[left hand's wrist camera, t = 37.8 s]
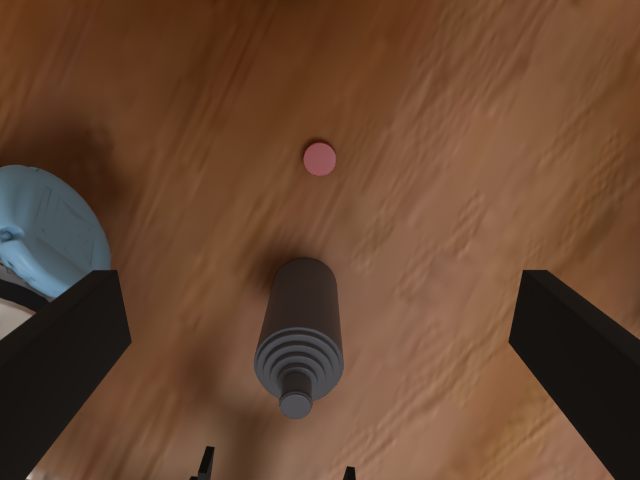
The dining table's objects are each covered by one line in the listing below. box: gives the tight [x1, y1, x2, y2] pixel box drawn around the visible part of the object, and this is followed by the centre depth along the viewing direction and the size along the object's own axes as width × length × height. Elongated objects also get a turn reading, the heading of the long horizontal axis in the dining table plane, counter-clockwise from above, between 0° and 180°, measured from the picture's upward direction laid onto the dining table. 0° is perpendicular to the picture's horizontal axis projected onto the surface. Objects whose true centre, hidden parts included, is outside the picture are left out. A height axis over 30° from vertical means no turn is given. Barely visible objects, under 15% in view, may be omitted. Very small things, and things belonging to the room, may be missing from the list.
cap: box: [303, 141, 337, 176], centre depth 44 cm, size 4×4×2 cm
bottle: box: [254, 258, 344, 419], centre depth 41 cm, size 8×8×21 cm
